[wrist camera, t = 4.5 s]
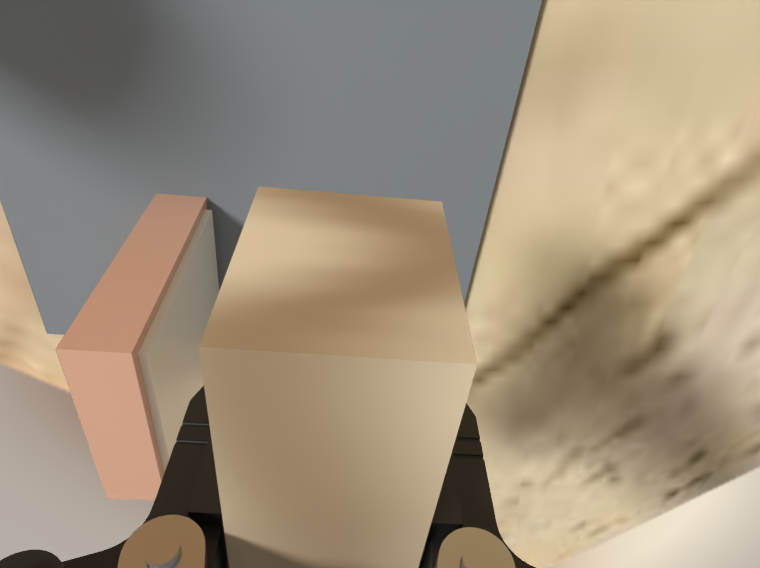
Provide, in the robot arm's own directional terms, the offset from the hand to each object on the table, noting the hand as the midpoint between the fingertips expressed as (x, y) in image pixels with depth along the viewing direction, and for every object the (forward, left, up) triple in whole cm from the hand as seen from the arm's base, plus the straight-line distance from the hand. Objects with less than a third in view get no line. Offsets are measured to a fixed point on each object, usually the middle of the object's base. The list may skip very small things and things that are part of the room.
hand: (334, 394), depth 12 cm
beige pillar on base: (0, +2, 0) cm, 2 cm away
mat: (+4, +2, -14) cm, 15 cm away
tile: (+7, +7, -14) cm, 17 cm away
